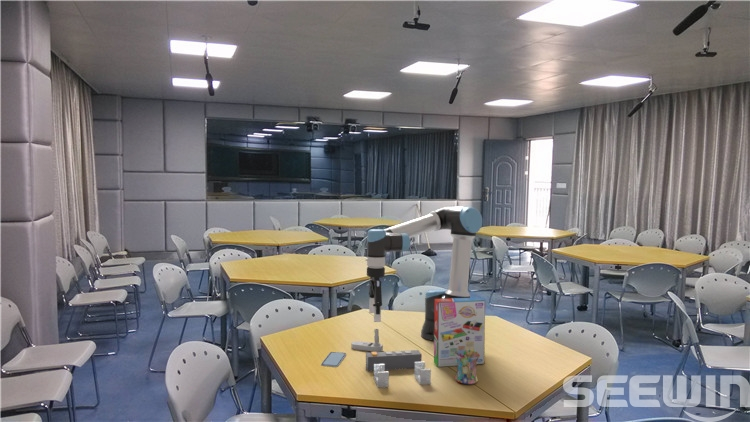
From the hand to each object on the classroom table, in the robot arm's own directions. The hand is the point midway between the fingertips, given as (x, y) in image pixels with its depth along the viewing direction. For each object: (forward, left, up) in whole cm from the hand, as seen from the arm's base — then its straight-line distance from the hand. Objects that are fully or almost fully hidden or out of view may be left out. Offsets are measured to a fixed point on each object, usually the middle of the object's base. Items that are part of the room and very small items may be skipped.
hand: (374, 317), depth 198 cm
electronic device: (0, -16, -19) cm, 25 cm away
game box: (-35, +7, -19) cm, 40 cm away
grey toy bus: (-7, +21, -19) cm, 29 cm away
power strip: (-7, +7, -19) cm, 21 cm away
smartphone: (+16, -5, -19) cm, 26 cm away
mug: (-31, +26, -19) cm, 45 cm away
